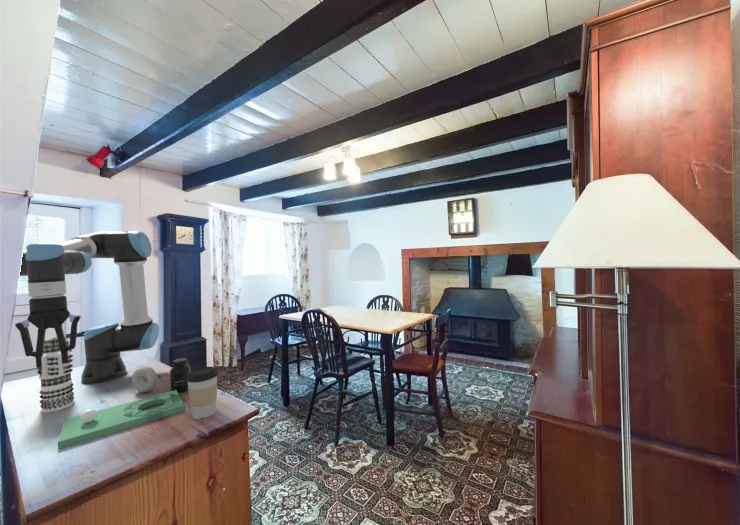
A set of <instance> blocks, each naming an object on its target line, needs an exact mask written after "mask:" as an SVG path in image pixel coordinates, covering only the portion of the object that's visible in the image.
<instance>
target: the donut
mask: <svg viewBox="0 0 740 525" xmlns="http://www.w3.org/2000/svg"><path fill="white" fill-rule="evenodd" d="M132 373H133V374H132V375H131V384H132V387H133V388H134V389H135V390H136V391H137V392H140V393H149V392H151V391H152V390H154V388H156V386H157V384H158V374H157V372H156V371H155V369H153V368H152V367H150V366H141V367H138V368H137V369H135V371H134V372H132ZM143 376H144V377H145V378H146V380H147V381H146V382H145V381H144V380H143Z"/></svg>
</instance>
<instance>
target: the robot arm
mask: <svg viewBox="0 0 740 525" xmlns="http://www.w3.org/2000/svg"><path fill="white" fill-rule="evenodd" d="M152 249H153V248H152V244H151V241H150V238H149V237H148V236H147V234H146V233H144V232H143V231H138V230H129V231H126V230H125V231H123V230H122V231H118V230H116V231H98V232H93V233H89V234H84V235H83V234H82V235H79V236H75V237H73V238H71V239H70V240H68V241H63V242H59V243H55V242H54V243H51V242H49V243H47V242H45V243H43V242H42V243H29V244H27V245H26V248H25V250H22V251H23V257H22V265H21V272H20V276H19V277H27V287H28V297H30V298H29V300H28V303H29V304H28V305H29V315H28V316H27V319H24V320H22V321H18V322H17V323H15V325H14V326H15V328H16V329H17V330H18V331H19V334H20V337H21V341H22V347H23V350H24V354H25V356H26V357H34V358H35V366H36V369H37V368H41V367H42V376H43V379H47V377H48V366H47V354H45V355H43V348H44V340H45V338H46V331H47V329H48V330H49V329H54V331H55V336H57V339H58V343H59V347H60V350H61V352H59V353H58V354H57V356H58V371H59V376H62V375H63V373H64V369H63V363H67V361H68V351H69V350H74V349H75V348H76V346H77V345H76V344H77V334H78V323H79V322H80V319H81V318H82V316H81V315H80V314H77V315H76V314H73V313H71V312H70V311H69V309H68V300H67V296H66V295H65V294H67V284H66V283H67V281H66V275H78V274H82V273H85V272H87V271H89V269H90V268H91V266H92V259H113V262H114V264H116V265H117V266H118V268H119V269H118V270H119V278H120V279H119V280H120V289H121V298H122V309H123V318H124V319H123V320H122V321H121V322H120V324H119V322H110V323H104V324H99V325H96V326H92V327H90V328H87V329H86V330H85V331H84V338H83V341H84V353H85V364H84V368H83V370H82V374H81V377H80V378H81V383H83V384H97V383H103V382H106V381H110V380H114V379H116V378H119V377H121V376H124V375H125V374H126V373H127V366H126V364H125V362H124V361H123V358H122V356H121V353H122V352H123V353H124V352H131V351H132V352H134V351H143V350H149V349H150V350H151V349H152V348H153V347H154V346H155V345H156V343H157V341H158V339H159V333H160V327H159V325H158V322H154V321H153V318H152V317H151V316H149V311H148V301H147V291H146V283H145V282H146V280H145V269H144V264H145V263H146V262H148V258H149V257H150V256H152V251H153V250H152ZM68 318H69V322H70V323H71V325H70V335H69V339H70V340H69V346H67V344H66V340H65V337H66V336H65V334H64V330H63V324H64V323H65V322H66V320H67V319H68ZM30 323H31V325H33V326H35V327H36V328H37V336H36V337H37V338H36V345H35V346H36V347H35V350H34V348H33V341H32V338H31V334H30V331H29V326H30ZM64 336H65V337H64Z"/></svg>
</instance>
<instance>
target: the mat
mask: <svg viewBox="0 0 740 525" xmlns="http://www.w3.org/2000/svg"><path fill="white" fill-rule="evenodd" d="M179 394H180V393H178V392H177V390H174V391H171V390H170V391H167V392H163V393H162V392H161V393H158V394H156V395H152V396H148V397H145V398H140V399H137V400H132V401H128V402H125V403H121V404H117V405H114V406H110V407H105V408H103V409H99V410H96V411H97V413H98V414H97V417H96V419H95V420H94V421H92V422H90V423H83V422H81V420H80V416H81V414H80V415H75V416H71V417H68V418H65V420H64V422H63V424H62V429H61V432H60V435H59V438H58V440H57V449H58V450H60V449H64V448H68V447H70V446H73V445H76V444H80V443H83V442H86V441H89V440H93V439H96V438H99V437H103V436H105V435H109V434H113V433H115V432H116V433H117V432H118V431H124V430H125V429H129V428H132V427H133V428H134V427H136V426H139V425H143V424H145V423H149V422H151V421H155V420H160V419H162V418H165V417H167V416H171V415H175V414H178V412H179V413H181V412H184V410H185V409H184V403H183V401H182V399H181V397H180V395H179Z"/></svg>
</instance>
